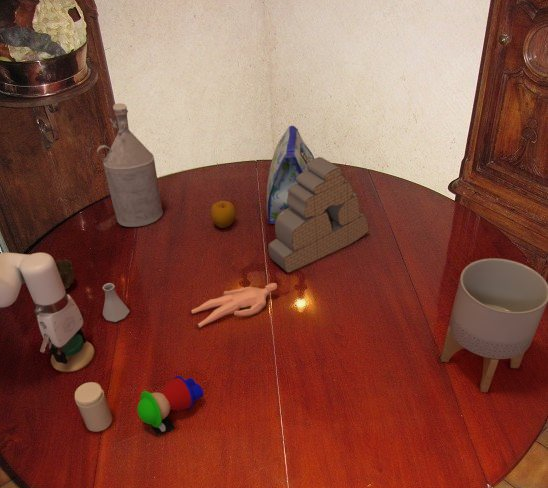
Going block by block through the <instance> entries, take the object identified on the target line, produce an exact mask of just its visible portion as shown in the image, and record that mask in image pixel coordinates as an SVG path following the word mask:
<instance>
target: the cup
mask: <svg viewBox="0 0 548 488" xmlns="http://www.w3.org/2000/svg"><path fill="white" fill-rule="evenodd" d="M54 261H55V263H56V266H57V269H58V272H59V274H60V277H61V280H62V282H63V285H64V288H65V291H68V290H71V288H72V286H73V282H74V279H75V273H74V268H73V263H72V262H71V260H68V259H66V258H65V259H64V260H63V261H62V260H61V259H57V260H54Z"/></svg>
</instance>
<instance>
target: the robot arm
mask: <svg viewBox="0 0 548 488" xmlns="http://www.w3.org/2000/svg"><path fill="white" fill-rule="evenodd" d="M55 261H56V260H55V259H54V257H53V256H52V255H50V254H49V253H46V252H35V253H31V254H26V253H16V252H1V253H0V308H7V307H10V306H11V305H13V304H14V303H15V302H16V300H17V299H18V296H19V294H20V291H21V288H22V285H23V284H25V285H26V287H27V290H28V292H29V294H30V296H31V299H32V302H33V304H34V306H35V310H33V313H34V314H35V315H36V319H37V324H38V328H39V331H40V334H41V336H42V339H43V340H42V344H41V346H40V350H39V352H40V353H41V354H44V355H51V356H52V355H54V358H55V360H56V361H57V362H59V363H64V364H67V362H68V361H67V359H66V356H65V354H64V352H62V351H61V349H62V346H64V345H65V344H66V343H67V342H68V341H69V340H70V339H71V338H72V337H73V336H74V334H75V333H79V334H80V335H81V336H82V339H83V341H84V343H86V341H87V339H86V337H85V334H84V332H83V331H84V330H85V328H84V323H85V315H86V310H85V309H81V308H79V307H78V305H77V304H76V301H75V300H74V299H73V297H71V295H70V294H68V293H67V290H65V288H64V285H63V282H62V280H61V277H60V274H59V272H58V269H57V266H56V263H55ZM54 345H55V346H56V347H57V349H56V348H54Z"/></svg>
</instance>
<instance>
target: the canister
mask: <svg viewBox="0 0 548 488" xmlns="http://www.w3.org/2000/svg"><path fill="white" fill-rule="evenodd" d="M112 109H113V111H114V115H115V118H116V119H114V120H113V118H109V120H110V122H111V123H112V128H114V129H115V130H117V129H118V132H117V134H116V135H115V139H114V140H113V142H112V143H111V144H112V145H111V146H110V147H109V146H108V145H106V144H101V145H99V146H98V147H97V149H96V153H97V154H96V155H97V158H99V159H100V160H103V161H102V164H103V168H104V172H105V177H106V182H107V187H108V190H109V194H110V199H111V201H112V208H113V211H114V214H115V218H116V222H117V223H118V224H119V225H120V226H123V227H126V228H137V227H144V226H148V225H150V224H153V223H155V222H157V221H158V220H160V218H161V217H162V216H163V213H164V210H163V206H162V200H161V199H162V198H161V192H160V186H159V182H158V181H159V180H158V175H157V168H156V162H155V156H154V154H153V153H152V152H151V151H150V149H148V148H147V147H146V146H145V144H143V143H142V142H141V140H139V138H137V136H135V134H134V133H132V131H131V130H130V128H129V120H128V112H129V110H128V106H127V105H126V104H124V103H114V104H113V105H112ZM117 125H118V126H117ZM104 148H105V149H108V152H107V154H106V156H105V157H100V156H99V151H100V150H101V149H104Z"/></svg>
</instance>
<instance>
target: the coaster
mask: <svg viewBox="0 0 548 488" xmlns="http://www.w3.org/2000/svg"><path fill="white" fill-rule="evenodd" d="M94 356H95V348H94V346H93V344H92V343H90V342H89V341H88V340H86V343H84V346H83V348H82V349H81V351H79V352H78V353H77V354H75V355H72V356H68V357H66V359H67V361H68V362H67V364H64V363H59V362H57V361H56V360H55V358H54V355H51V356H50V363H51V365H52V368H54V369H55V370H56V371H59V372H62V373H72V372H76V371H79V370H82V369H83V368H85V367H86V366H88V365H89V364H90V363H91V362H92V360H93V359H94Z"/></svg>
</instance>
